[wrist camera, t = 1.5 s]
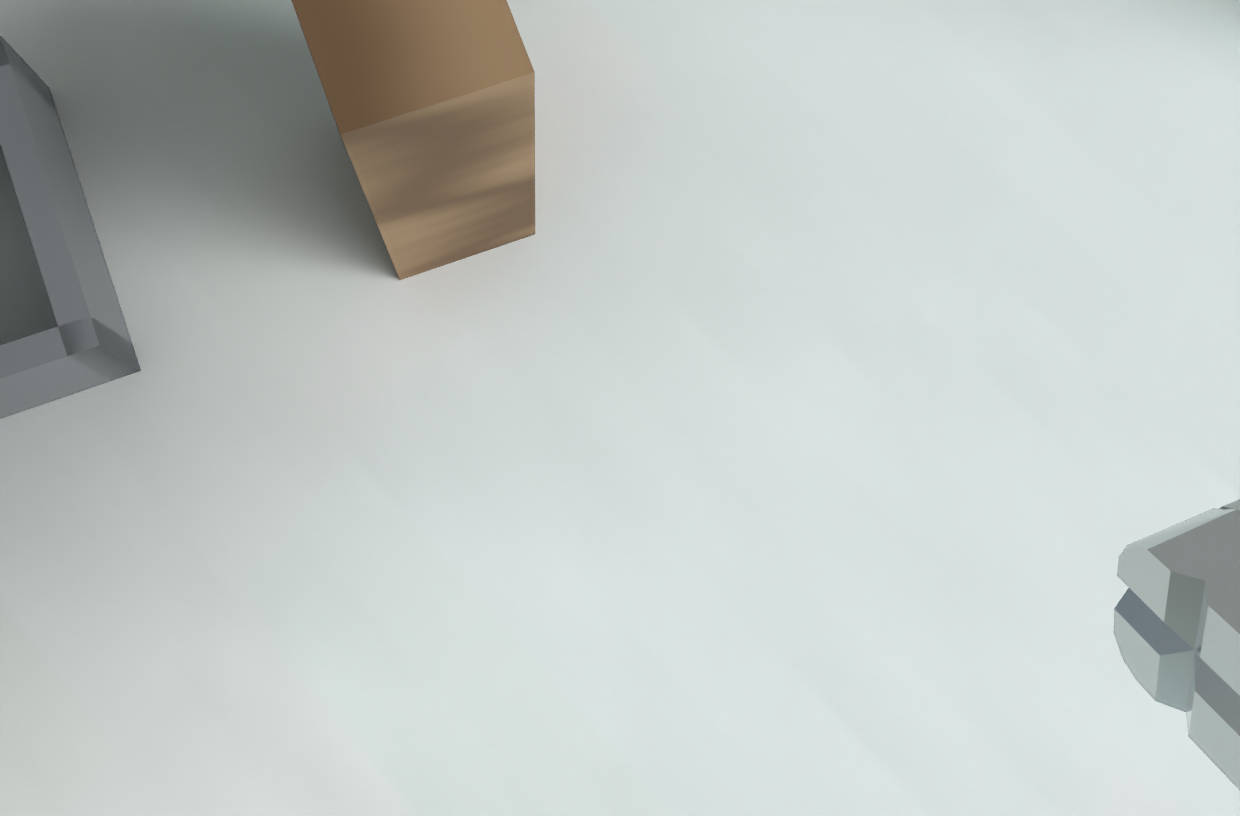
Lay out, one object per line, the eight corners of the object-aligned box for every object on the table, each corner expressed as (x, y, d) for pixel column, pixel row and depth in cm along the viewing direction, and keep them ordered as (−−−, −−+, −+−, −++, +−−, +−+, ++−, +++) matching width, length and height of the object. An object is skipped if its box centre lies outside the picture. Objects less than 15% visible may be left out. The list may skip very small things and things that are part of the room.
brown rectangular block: (469, 62, 34) (441, -166, 24) (535, 233, 33) (534, 72, 23) (336, 104, 33) (252, -110, 23) (399, 280, 32) (340, 134, 23)
